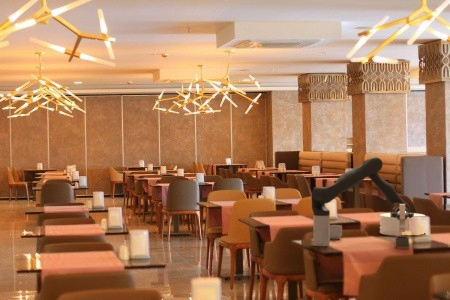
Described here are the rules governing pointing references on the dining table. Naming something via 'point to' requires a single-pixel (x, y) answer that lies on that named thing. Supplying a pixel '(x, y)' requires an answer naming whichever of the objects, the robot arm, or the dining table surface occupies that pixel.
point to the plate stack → (392, 224)
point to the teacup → (335, 231)
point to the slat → (402, 218)
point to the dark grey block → (402, 242)
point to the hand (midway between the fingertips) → (402, 216)
